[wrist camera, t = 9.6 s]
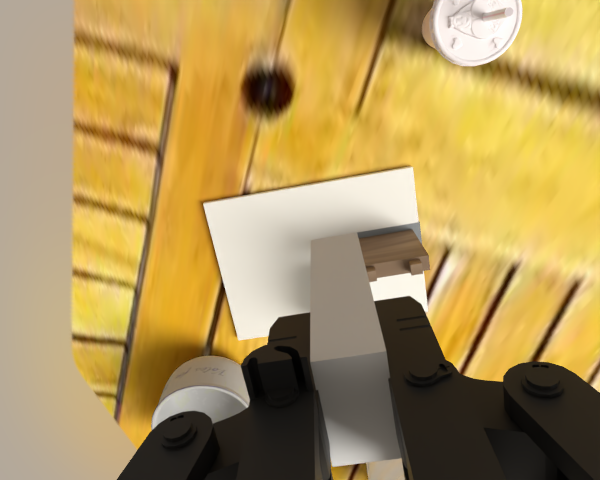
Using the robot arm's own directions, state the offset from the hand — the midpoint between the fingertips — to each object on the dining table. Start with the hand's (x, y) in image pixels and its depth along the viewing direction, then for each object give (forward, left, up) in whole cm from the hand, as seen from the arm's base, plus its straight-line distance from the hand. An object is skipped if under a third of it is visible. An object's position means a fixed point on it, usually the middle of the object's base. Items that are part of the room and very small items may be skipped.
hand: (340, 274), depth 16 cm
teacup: (+27, -18, -34) cm, 47 cm away
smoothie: (-7, +12, -34) cm, 36 cm away
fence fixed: (+12, +3, -33) cm, 35 cm away
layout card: (+13, -2, -33) cm, 36 cm away
